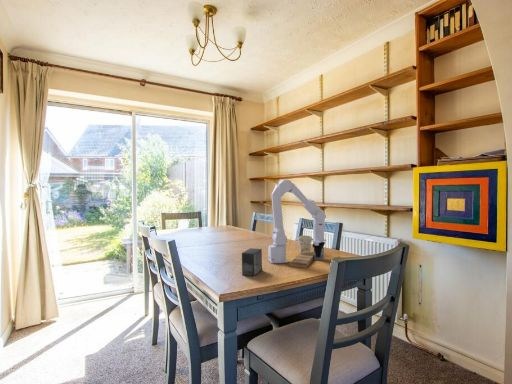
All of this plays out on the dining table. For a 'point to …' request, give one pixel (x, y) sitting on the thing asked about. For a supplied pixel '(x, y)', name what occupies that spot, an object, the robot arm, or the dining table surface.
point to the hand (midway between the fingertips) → (318, 256)
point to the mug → (305, 243)
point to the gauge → (314, 254)
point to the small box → (251, 262)
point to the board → (302, 260)
